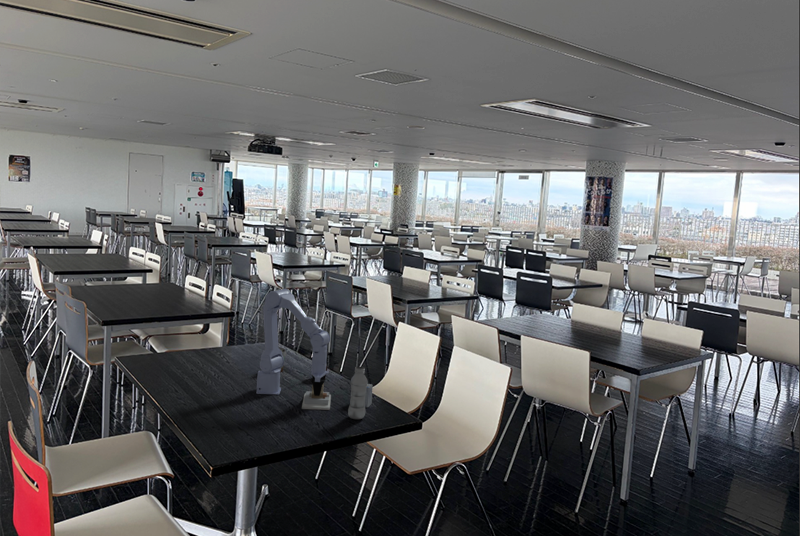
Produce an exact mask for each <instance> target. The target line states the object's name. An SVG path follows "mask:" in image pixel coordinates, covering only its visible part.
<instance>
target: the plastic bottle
mask: <svg viewBox="0 0 800 536" xmlns="http://www.w3.org/2000/svg"><path fill="white" fill-rule="evenodd" d="M365 373H366V371H365V367H363V366H356V367H354V374H353V376H351V379H350V399H349V400H350V401H349V406H348V409H347V412H348V413H347V414H348V417H349V419H353V420H361V419H364V417H365V415H366V407H365V393H366V388H367V384H369V381H368V378H367V377H366V375H365Z"/></svg>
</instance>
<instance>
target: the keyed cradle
mask: <svg viewBox="0 0 800 536" xmlns="http://www.w3.org/2000/svg"><path fill="white" fill-rule="evenodd" d="M323 393H327V397H325V399H320V398H312V390H309V391H308V390H307V391H305V393H304V395H303V400H302V404H301V409H302V410H319V411H321V410H324V411H330V410H331V400H332V394H330V391H323Z"/></svg>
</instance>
